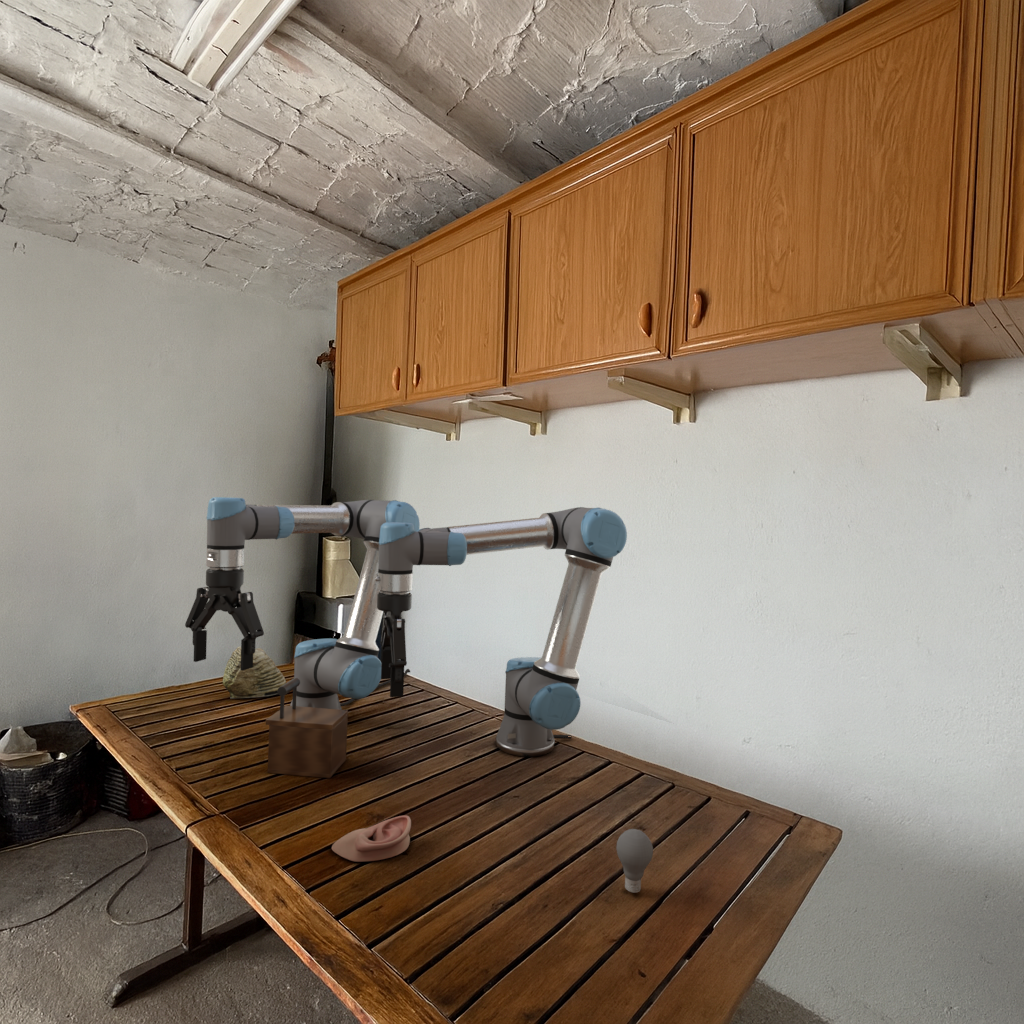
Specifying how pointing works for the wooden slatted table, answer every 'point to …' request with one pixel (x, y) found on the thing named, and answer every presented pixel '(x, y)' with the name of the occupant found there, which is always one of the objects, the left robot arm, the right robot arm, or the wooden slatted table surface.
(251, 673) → the fossil
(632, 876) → the light bulb
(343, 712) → the lid
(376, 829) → the anatomical model
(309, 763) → the chest
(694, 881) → the wooden slatted table surface
